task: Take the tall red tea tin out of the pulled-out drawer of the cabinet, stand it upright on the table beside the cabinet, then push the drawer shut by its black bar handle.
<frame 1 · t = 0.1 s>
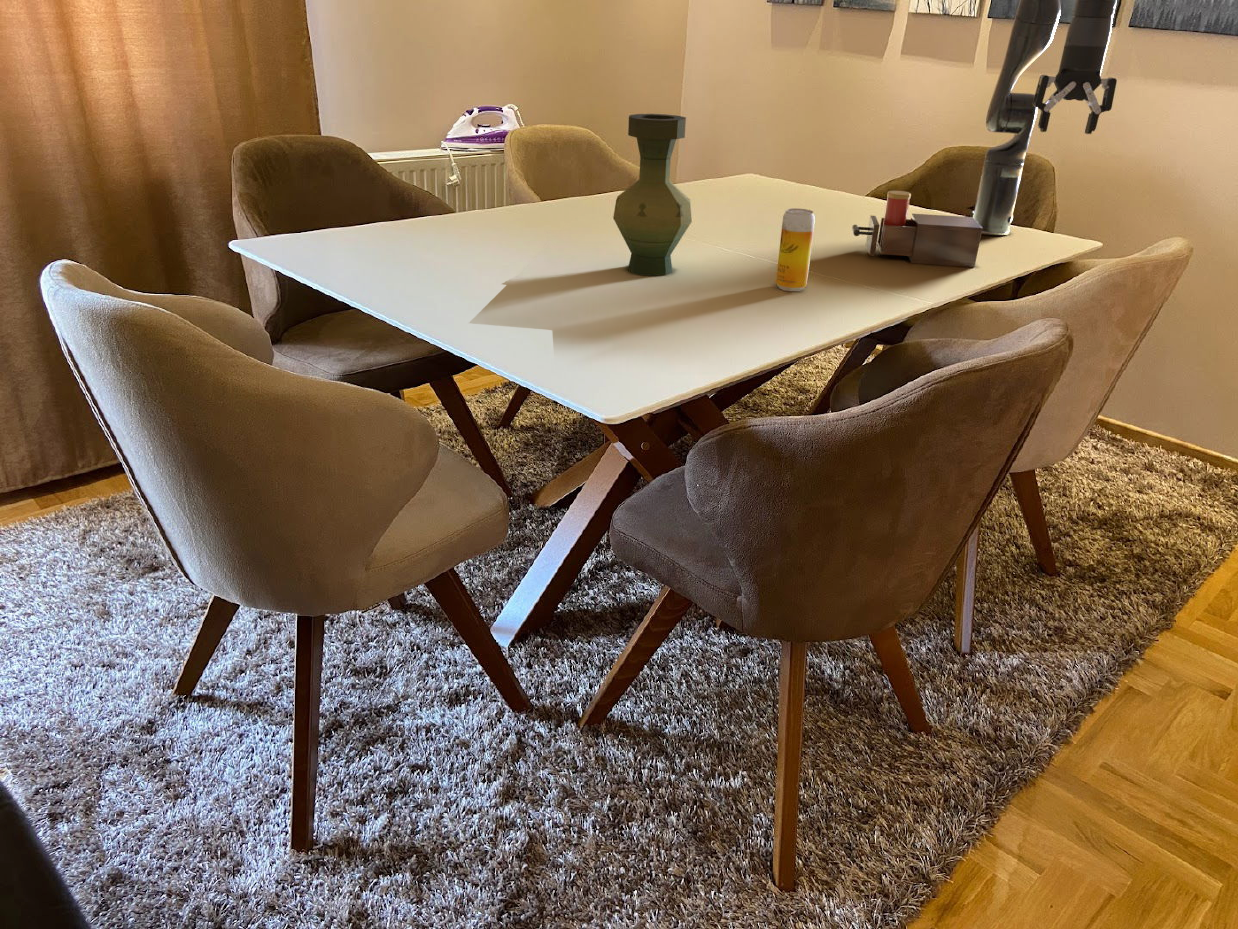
hand: (1065, 132, 184), 29 cm above the table, tool pointing down, fingers open, 8 cm apart
vase: (650, 270, 192), on the table
beer can: (790, 288, 183), on the table
drawer: (889, 236, 209), point 4 cm above the table, slide at 8.0 cm, touching tea tin
cabinet: (938, 258, 209), on the table
tea tin: (890, 246, 210), point 2 cm above the table, touching drawer
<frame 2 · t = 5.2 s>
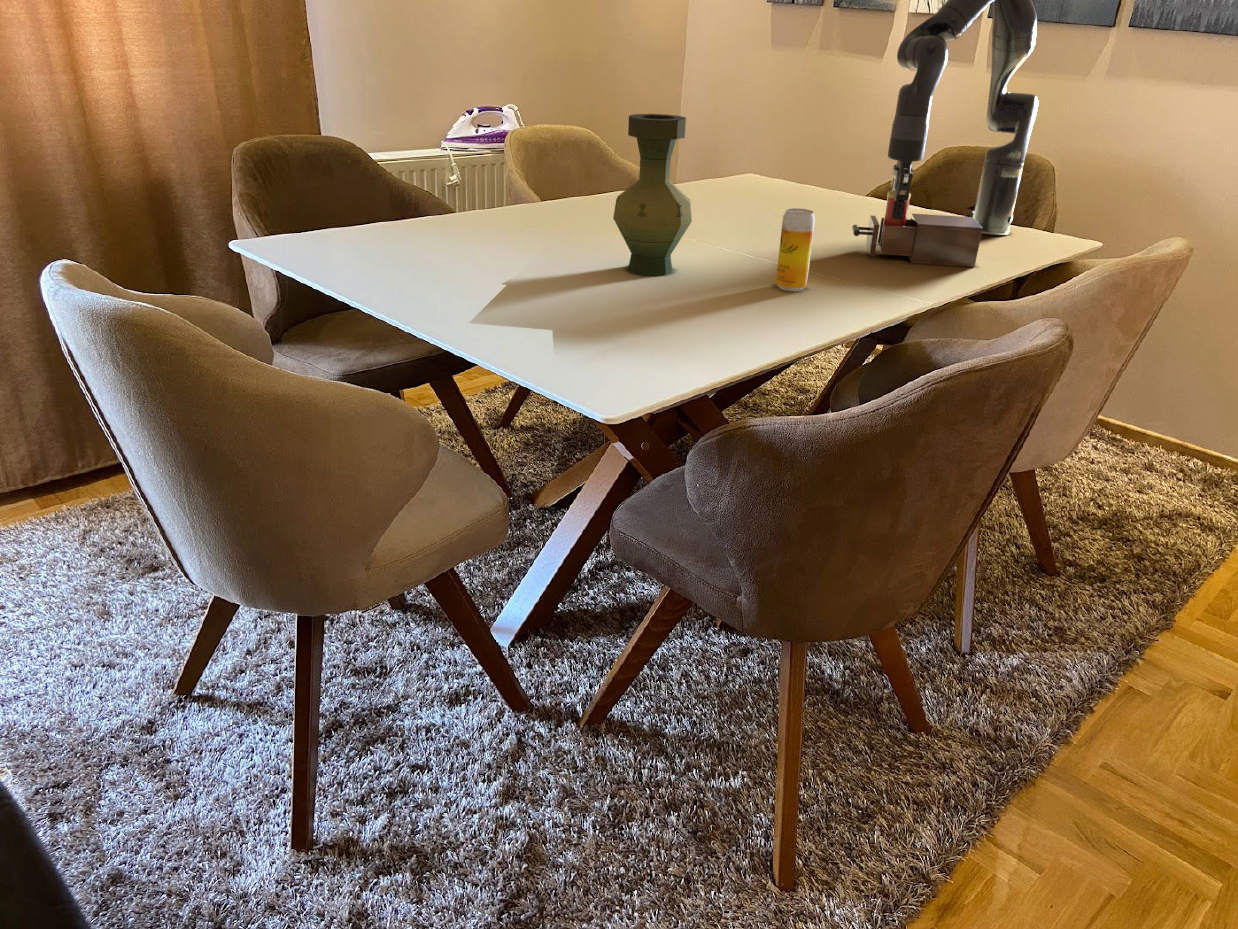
hand: (895, 215, 207), 9 cm above the table, tool pointing down, fingers closed on tea tin, 4 cm apart
tea tin: (890, 246, 210), point 2 cm above the table, touching drawer, gripper
everything else where it was.
when the fingers open (7 cm above the table, at t = 11.4 s): tea tin stays where it is, on the table.
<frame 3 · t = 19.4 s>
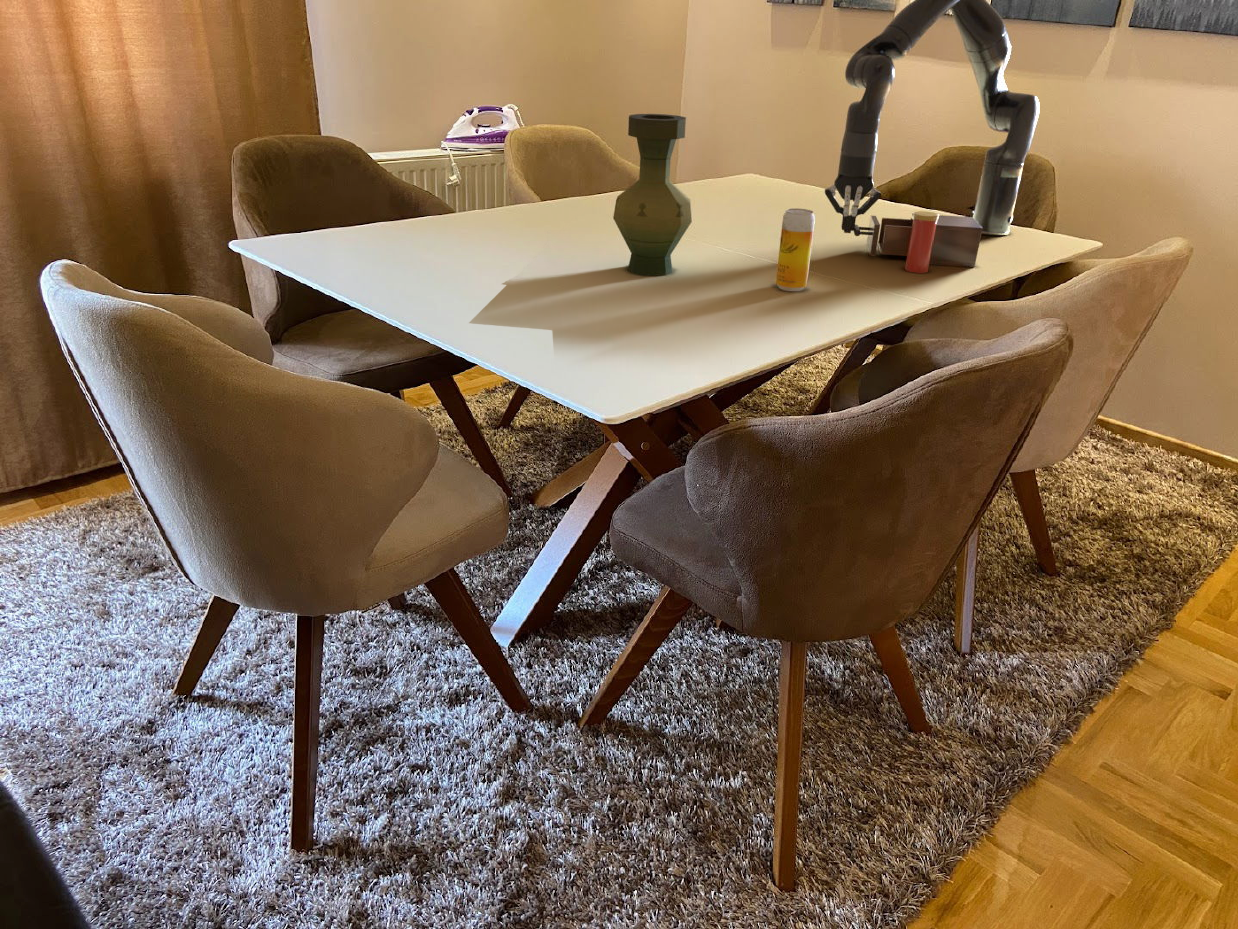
hand: (847, 232, 210), 5 cm above the table, tool pointing down, fingers closed
drawer: (889, 236, 209), point 4 cm above the table, slide at 7.9 cm, touching gripper
tea tin: (916, 269, 199), on the table
everything else where it was.
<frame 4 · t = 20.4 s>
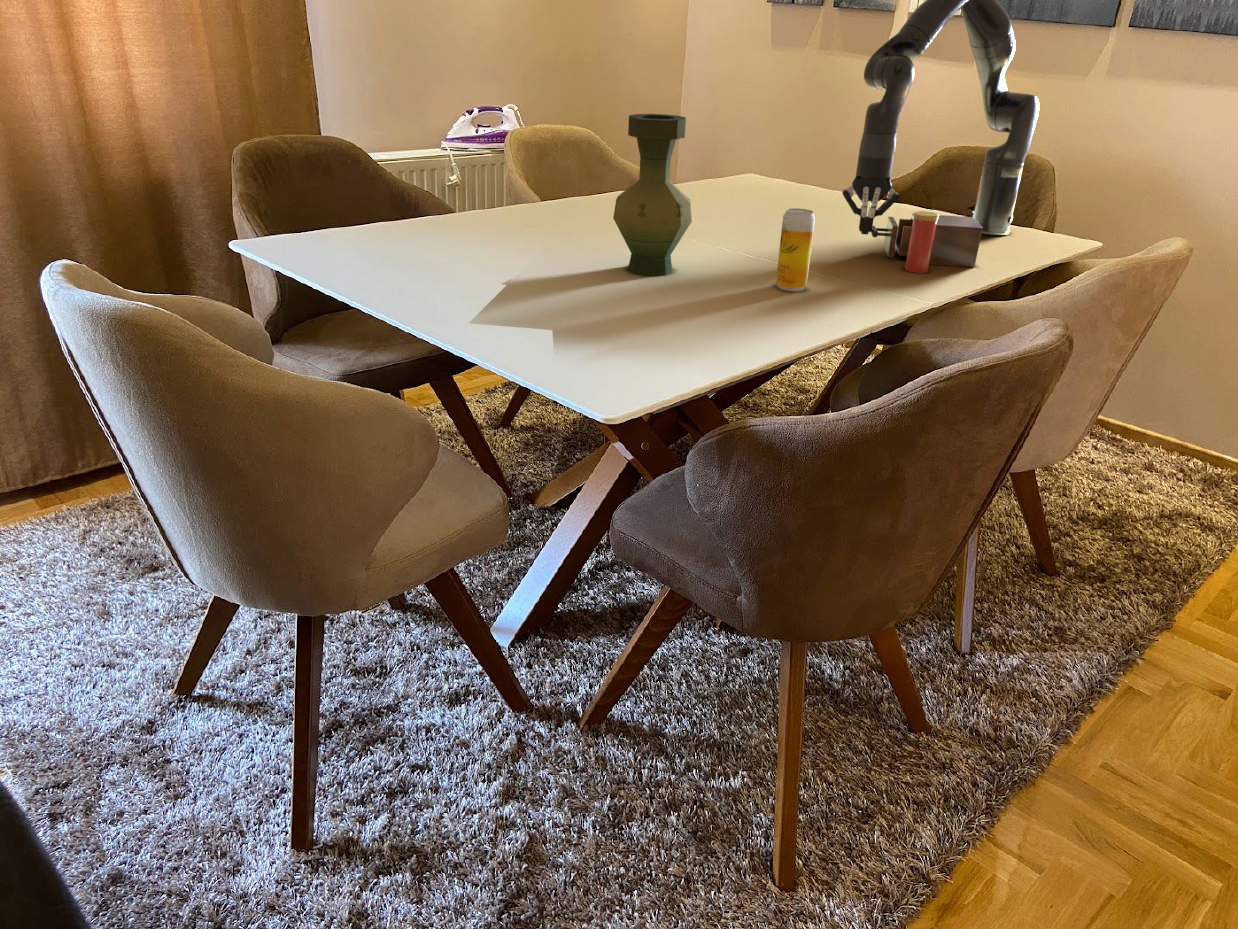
hand: (864, 233, 209), 5 cm above the table, tool pointing down, fingers closed
drawer: (907, 237, 208), point 4 cm above the table, slide at 4.0 cm, touching gripper
everything else where it was.
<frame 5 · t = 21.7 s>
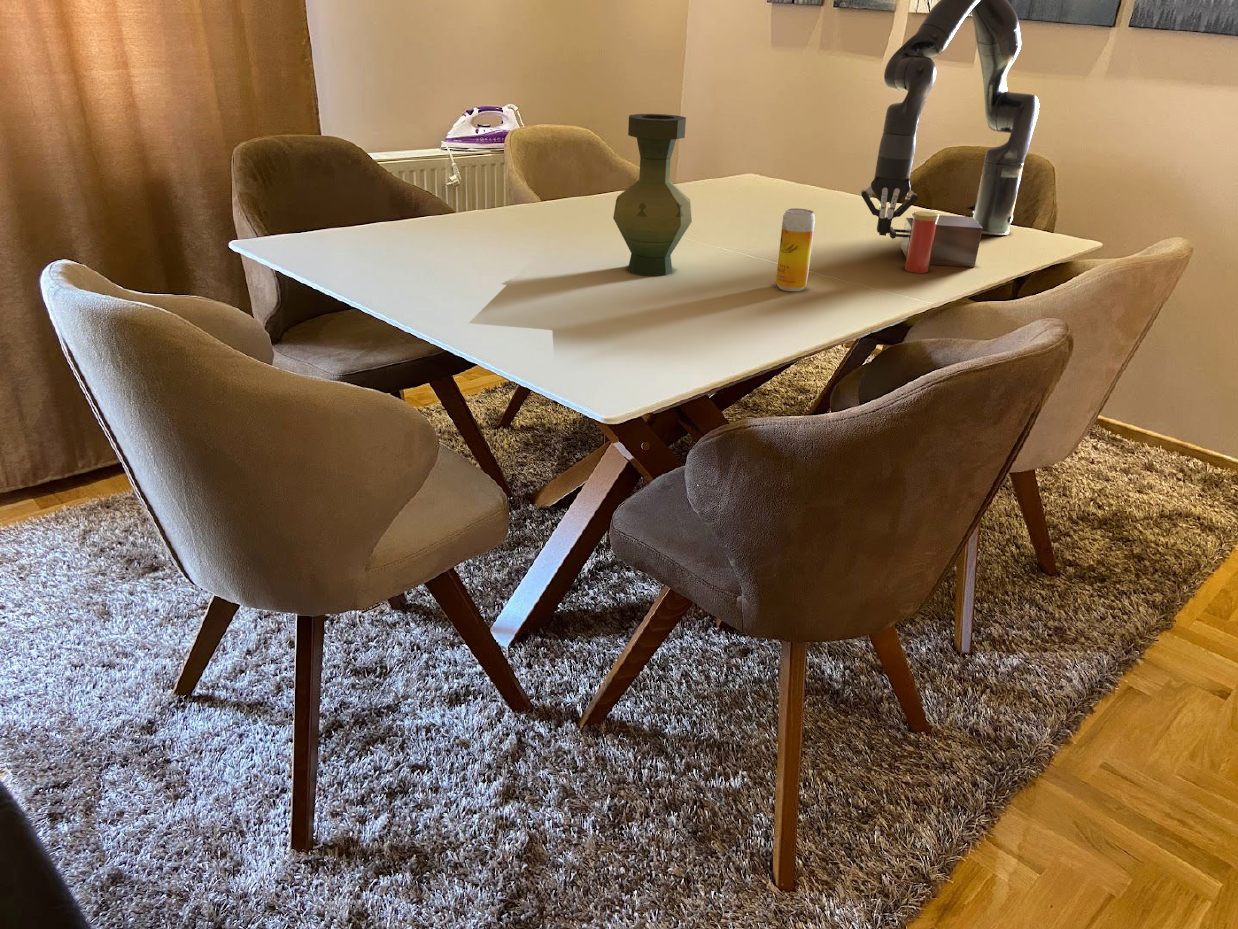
hand: (882, 234, 209), 5 cm above the table, tool pointing down, fingers closed
drawer: (925, 238, 208), point 4 cm above the table, slide at 0.0 cm, touching cabinet, gripper
everything else where it was.
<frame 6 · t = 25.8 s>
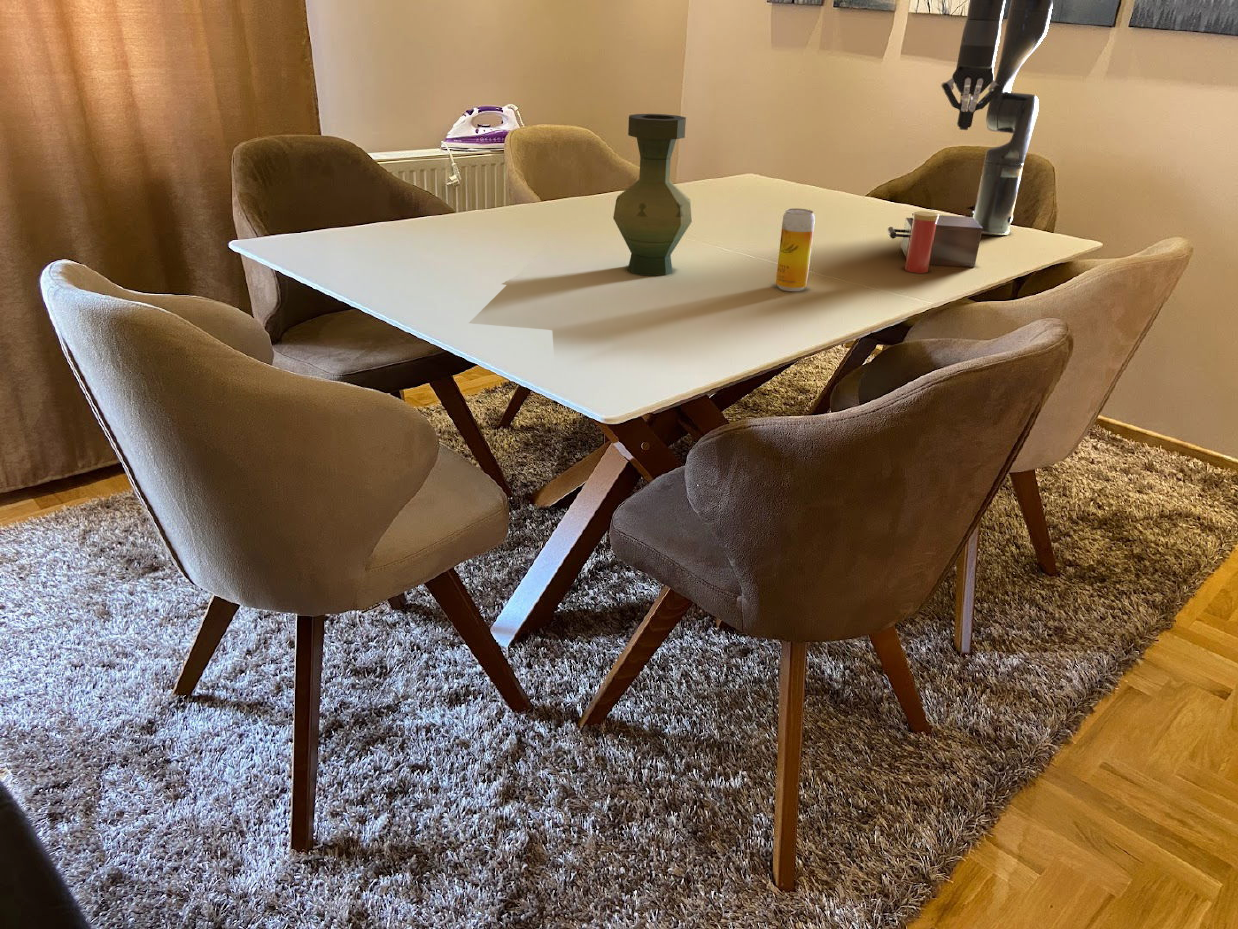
hand: (963, 129, 204), 27 cm above the table, tool pointing down, fingers closed
drawer: (925, 238, 208), point 4 cm above the table, slide at 0.0 cm
everything else where it was.
at the end: tea tin inside the target area (0.0 cm from its centre), on the table; tea tin tilted 0°; drawer slide at 0.0 cm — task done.
